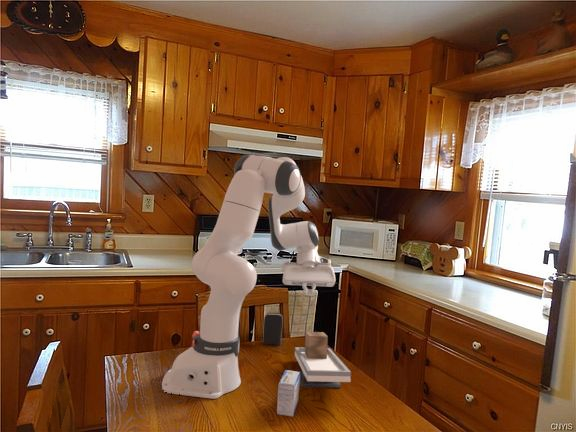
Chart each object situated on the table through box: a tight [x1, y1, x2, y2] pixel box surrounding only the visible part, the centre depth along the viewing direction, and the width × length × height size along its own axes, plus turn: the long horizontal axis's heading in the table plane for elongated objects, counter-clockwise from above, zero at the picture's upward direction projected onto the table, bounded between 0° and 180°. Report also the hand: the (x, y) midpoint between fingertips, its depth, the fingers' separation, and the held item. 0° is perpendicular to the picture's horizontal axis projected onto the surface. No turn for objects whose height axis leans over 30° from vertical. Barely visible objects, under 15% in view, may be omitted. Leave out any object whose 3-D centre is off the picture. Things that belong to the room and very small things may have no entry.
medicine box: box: [276, 369, 300, 417], centre depth 108 cm, size 8×4×9 cm, turn 168°
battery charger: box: [262, 312, 284, 346], centre depth 150 cm, size 7×4×11 cm, turn 91°
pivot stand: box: [297, 370, 342, 389], centre depth 124 cm, size 12×8×4 cm, turn 95°
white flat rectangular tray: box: [294, 346, 352, 383], centre depth 124 cm, size 12×28×3 cm, turn 5°
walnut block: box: [304, 331, 329, 359], centre depth 132 cm, size 6×7×7 cm
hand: (309, 294), depth 150 cm, fingers closed
